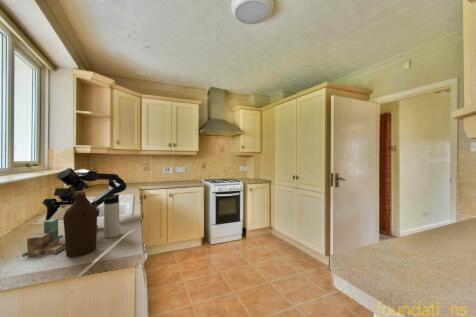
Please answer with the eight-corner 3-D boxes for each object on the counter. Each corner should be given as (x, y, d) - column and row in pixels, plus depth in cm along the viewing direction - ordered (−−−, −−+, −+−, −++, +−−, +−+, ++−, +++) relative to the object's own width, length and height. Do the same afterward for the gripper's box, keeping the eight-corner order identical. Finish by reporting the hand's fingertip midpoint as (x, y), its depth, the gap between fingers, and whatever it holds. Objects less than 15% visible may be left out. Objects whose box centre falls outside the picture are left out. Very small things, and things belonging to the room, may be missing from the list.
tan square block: (73, 242, 88) (73, 239, 88) (66, 246, 84) (66, 243, 84) (63, 243, 88) (63, 239, 88) (55, 247, 84) (55, 243, 84)
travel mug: (123, 235, 98) (122, 194, 98) (109, 240, 92) (108, 197, 92) (115, 233, 101) (114, 193, 101) (101, 238, 95) (100, 196, 95)
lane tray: (88, 237, 97) (88, 233, 97) (55, 256, 78) (55, 252, 78) (61, 238, 96) (61, 234, 96) (22, 258, 77) (22, 253, 77)
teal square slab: (59, 242, 89) (59, 219, 88) (38, 253, 79) (37, 227, 78) (49, 243, 88) (49, 219, 88) (27, 254, 78) (26, 227, 78)
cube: (50, 244, 84) (50, 232, 84) (42, 249, 79) (41, 237, 79) (36, 245, 83) (36, 233, 83) (27, 250, 78) (27, 238, 78)
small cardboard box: (62, 248, 83) (62, 245, 83) (56, 252, 79) (56, 249, 79) (51, 249, 82) (51, 245, 82) (44, 253, 79) (44, 249, 79)
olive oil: (104, 248, 84) (103, 189, 84) (80, 262, 74) (79, 194, 74) (82, 247, 86) (81, 188, 86) (56, 259, 76) (54, 193, 75)
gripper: (45, 181, 95) (22, 211, 84) (86, 180, 96) (69, 209, 85) (59, 195, 103) (40, 223, 92) (97, 194, 104) (82, 222, 93)
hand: (57, 219), depth 90 cm, fingers open, 9 cm apart
